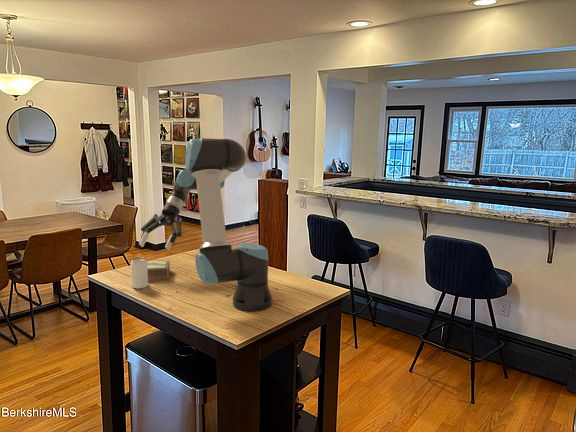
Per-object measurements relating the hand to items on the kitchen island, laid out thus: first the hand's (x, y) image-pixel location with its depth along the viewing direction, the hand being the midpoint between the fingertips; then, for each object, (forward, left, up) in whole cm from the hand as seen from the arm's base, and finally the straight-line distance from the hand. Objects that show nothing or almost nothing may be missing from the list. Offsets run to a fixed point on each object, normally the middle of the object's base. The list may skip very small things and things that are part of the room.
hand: (153, 247), depth 183 cm
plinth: (+5, 0, -15) cm, 15 cm away
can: (-9, +5, -15) cm, 18 cm away
